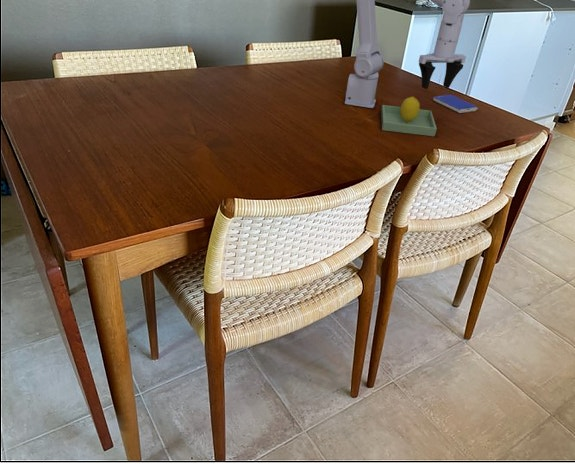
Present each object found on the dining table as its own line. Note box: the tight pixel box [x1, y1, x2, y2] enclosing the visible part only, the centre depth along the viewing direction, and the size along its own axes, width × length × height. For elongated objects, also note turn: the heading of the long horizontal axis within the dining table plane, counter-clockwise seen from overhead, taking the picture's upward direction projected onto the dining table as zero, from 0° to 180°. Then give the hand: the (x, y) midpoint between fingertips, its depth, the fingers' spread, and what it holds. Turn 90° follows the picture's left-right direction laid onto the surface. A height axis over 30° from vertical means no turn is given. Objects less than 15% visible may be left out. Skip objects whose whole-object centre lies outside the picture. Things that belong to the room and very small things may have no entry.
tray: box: [380, 104, 438, 137], centre depth 141 cm, size 15×15×2 cm
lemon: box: [400, 95, 421, 123], centre depth 139 cm, size 6×6×8 cm
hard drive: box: [432, 94, 478, 114], centre depth 158 cm, size 2×8×12 cm
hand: (435, 87), depth 139 cm, fingers open, 7 cm apart
